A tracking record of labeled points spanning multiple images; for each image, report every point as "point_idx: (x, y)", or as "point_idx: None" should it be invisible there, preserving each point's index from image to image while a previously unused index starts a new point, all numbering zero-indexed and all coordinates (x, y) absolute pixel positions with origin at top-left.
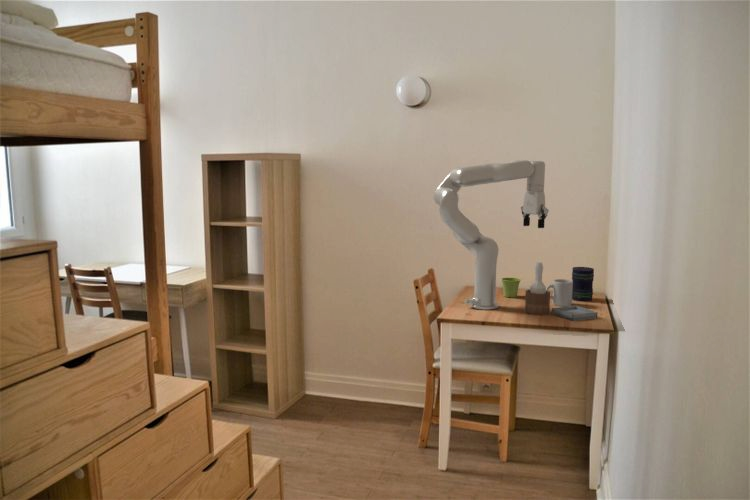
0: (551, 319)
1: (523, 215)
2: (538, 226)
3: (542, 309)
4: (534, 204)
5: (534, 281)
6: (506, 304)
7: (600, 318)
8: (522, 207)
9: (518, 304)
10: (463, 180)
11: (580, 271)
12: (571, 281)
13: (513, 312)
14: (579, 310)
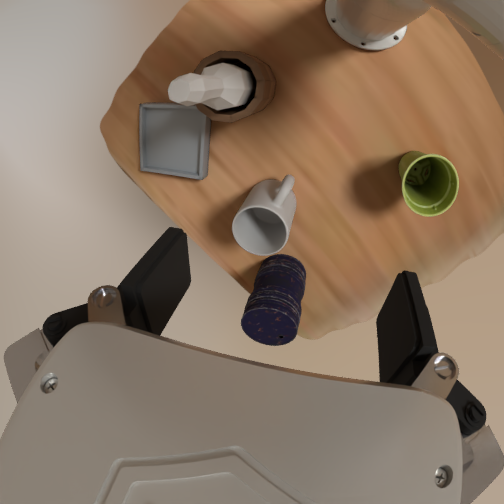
0: (175, 70)
1: (448, 373)
2: (165, 233)
3: None
4: (40, 481)
5: (221, 77)
6: (355, 80)
7: None
8: (483, 474)
9: (336, 106)
10: None
11: (257, 305)
12: (247, 249)
13: (272, 31)
14: (187, 167)
